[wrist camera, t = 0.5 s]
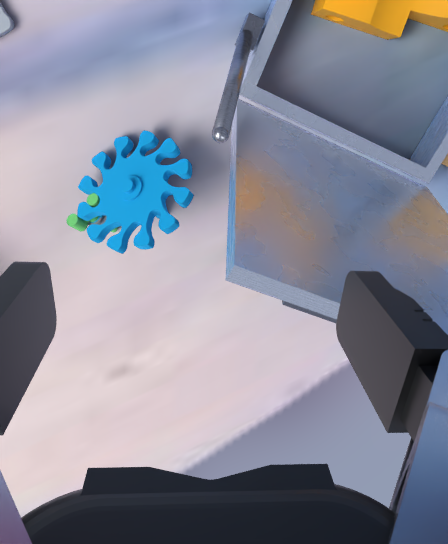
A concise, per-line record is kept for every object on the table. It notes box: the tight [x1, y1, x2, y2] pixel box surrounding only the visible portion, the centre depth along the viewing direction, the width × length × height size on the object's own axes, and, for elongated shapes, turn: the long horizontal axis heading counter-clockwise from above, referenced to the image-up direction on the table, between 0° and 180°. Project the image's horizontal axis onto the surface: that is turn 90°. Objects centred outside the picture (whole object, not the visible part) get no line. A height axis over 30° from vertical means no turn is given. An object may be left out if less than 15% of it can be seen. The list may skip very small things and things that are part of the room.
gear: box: [67, 130, 194, 254], centre depth 34 cm, size 11×6×10 cm
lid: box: [226, 99, 448, 335], centre depth 25 cm, size 20×18×1 cm
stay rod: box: [212, 25, 253, 143], centre depth 27 cm, size 8×1×10 cm, turn 157°
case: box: [235, 0, 448, 184], centre depth 30 cm, size 20×19×3 cm
